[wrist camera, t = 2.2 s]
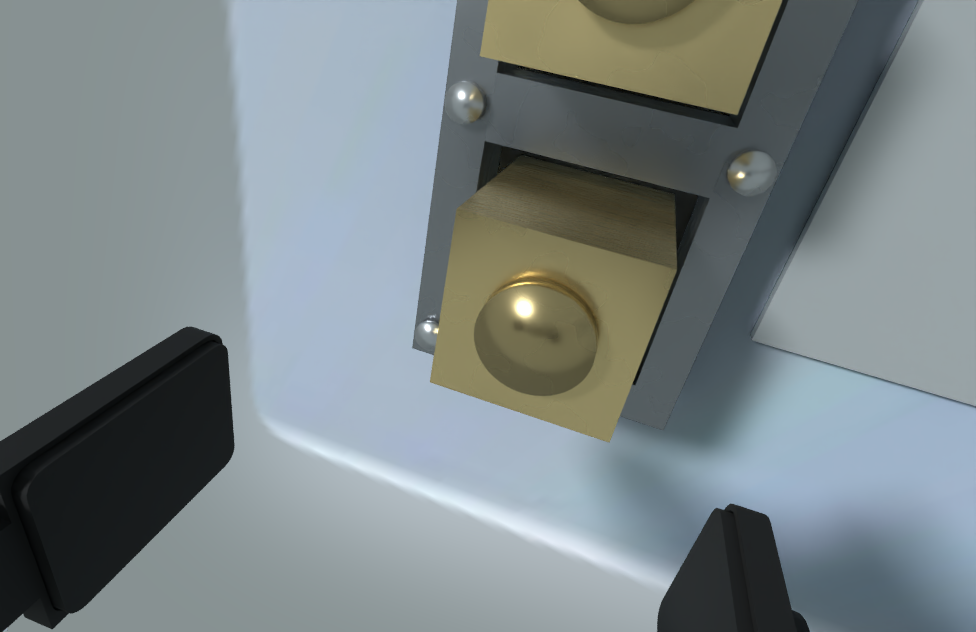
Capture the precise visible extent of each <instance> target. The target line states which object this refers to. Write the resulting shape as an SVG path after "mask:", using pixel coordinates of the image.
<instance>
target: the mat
mask: <svg viewBox="0 0 976 632" xmlns="http://www.w3.org/2000/svg"><path fill="white" fill-rule="evenodd" d="M750 336H751V340H752V341H755V342H759V343H762V344H766V345H769V346H772V347H776V348H779V349H783V350H786V351H789V352H793V353H796V354H800V355H803V356H806V357H810V358H813V359H817V360H820V361H824V362H827V363H830V364H834V365H837V366H841V367H844V368H847V369H851V370H854V371H858V372H861V373H864V374H868V375H871V376H875V377H878V378H881V379H885V380H888V381H892V382H895V383H899V384H902V385H905V386H909V387H912V388H916V389H919V390H922V391H926V392H929V393H933V394H936V395H939V396H943V397H946V398H950V399H953V400H957V401H960V402H963V403H967V404H970V405H974V406H976V0H918V2H917V4H916V6H915V8H914V10H913V12H912V14H911V16H910V18H909V20H908V22H907V24H906V26H905V28H904V30H903V32H902V34H901V36H900V38H899V40H898V42H897V44H896V46H895V48H894V50H893V52H892V54H891V56H890V58H889V60H888V62H887V64H886V66H885V68H884V70H883V72H882V74H881V76H880V78H879V80H878V82H877V84H876V86H875V88H874V90H873V92H872V94H871V96H870V98H869V100H868V102H867V104H866V106H865V108H864V110H863V112H862V114H861V116H860V118H859V120H858V122H857V124H856V126H855V128H854V130H853V132H852V134H851V136H850V138H849V140H848V142H847V144H846V146H845V148H844V150H843V152H842V154H841V156H840V158H839V159H838V161H837V163H836V165H835V167H834V169H833V171H832V173H831V175H830V177H829V179H828V181H827V183H826V185H825V187H824V189H823V191H822V193H821V195H820V197H819V199H818V201H817V203H816V205H815V207H814V209H813V211H812V213H811V215H810V217H809V219H808V221H807V223H806V225H805V227H804V229H803V231H802V233H801V235H800V237H799V239H798V241H797V243H796V245H795V247H794V249H793V251H792V253H791V255H790V257H789V259H788V261H787V263H786V265H785V267H784V269H783V271H782V273H781V275H780V277H779V279H778V281H777V283H776V285H775V287H774V289H773V291H772V293H771V295H770V297H769V299H768V301H767V303H766V305H765V307H764V309H763V311H762V313H761V315H760V317H759V319H758V321H757V323H756V325H755V327H754V329H753V330H752V332H751V334H750Z"/></svg>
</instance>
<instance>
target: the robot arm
mask: <svg viewBox="0 0 976 632" xmlns="http://www.w3.org/2000/svg"><path fill="white" fill-rule="evenodd" d="M233 452H234V433H233V420H232V405H231V391H230V377H229V363H228V351H227V348H226V347H225V346H224V345H223V344H222V340H221V338H220V337H219V336H218V335H215V334H212V333H209V332H206V331H203V330H199V329H197V328H194V327H186V328H183V329H181V330H179V331H178V332H177V333H175V334H173V335H171V336H170V337H168V338H167V339H165V340H163V341H162V342H160V343H158V344H157V345H155V346H154V347H152V348H150V349H149V350H147V351H146V352H144V353H142V354H141V355H139V356H137V357H136V358H134V359H133V360H131V361H130V362H128V363H126V364H125V365H123V366H122V367H120V368H118V369H116V370H115V371H113V372H112V373H110V374H108V375H107V376H105V377H104V378H102V379H100V380H99V381H97V382H95V383H94V384H92V385H91V386H89V387H87V388H86V389H84V390H83V391H81V392H79V393H78V394H76V395H75V396H73V397H71V398H70V399H68V400H66V401H65V402H63V403H62V404H60V405H58V406H57V407H55V408H53V409H52V410H50V411H49V412H47V413H45V414H44V415H42V416H41V417H39V418H37V419H36V420H34V421H32V422H31V423H29V424H28V425H26V426H24V427H23V428H21V429H20V430H18V431H17V432H15V433H13V434H12V435H10V436H8V437H7V438H5V439H3V440H2V441H0V632H7V629H8V627H9V625H11V624H12V623H13V622H14V621H15V620H16V619H17V618H18V617H19V616H21V615H22V614H24V616H25V617H26V618H28V619H30V620H32V621H35V622H37V623H39V624H41V625H44V626H46V627H48V628H51V629H53V628H54V627H55V626H56V625H57V624H58V623H59V622H60V621H61V620H62V619H63V618H65V617H66V615H67V614H69V613H75V612H77V611H79V610H81V609H82V608H83V607H84V606H86V605H87V604H88V603H89V602H90V601H91V600H92V599H93V598H94V597H95V596H96V595H97V594H98V593H99V592H100V591H101V590H102V589H103V588H104V587H105V586H106V585H107V584H108V583H109V582H110V581H111V580H112V579H113V578H114V577H115V576H116V575H117V574H118V573H119V572H120V571H121V570H122V568H124V567H125V566H126V565H127V564H128V563H129V562H130V561H131V560H132V559H133V558H134V557H135V556H136V555H137V554H138V553H139V552H140V551H141V550H142V549H143V548H144V547H145V546H146V545H147V544H148V543H149V542H150V541H151V540H152V539H153V538H154V537H155V536H156V535H157V534H158V533H159V532H160V531H161V530H162V529H163V528H164V527H165V526H166V525H167V524H168V522H170V521H171V520H172V519H173V518H174V517H175V516H176V515H177V514H178V513H179V512H180V511H181V510H182V509H183V508H184V507H185V506H186V505H187V503H189V502H190V501H191V500H192V499H193V498H194V497H195V496H196V495H197V494H198V492H200V491H201V490H202V489H203V488H204V487H205V486H206V485H207V484H208V482H210V481H211V480H212V479H213V478H214V477H215V476H216V475H217V474H218V473H219V472H220V471H221V470H222V469H223V468H224V467H225V466H226V464H227V463H228V462H229V460H230V459H231V457H232V455H233ZM657 624H658V625H657V630H658V631H657V632H810V631H809V628H808V625H807V623H806V621H805V619H804V618H803V617H802V615H801V614H800V613H797V612H795V611H793V610H791V605H790V601H789V597H788V593H787V589H786V585H785V580H784V576H783V572H782V568H781V564H780V560H779V556H778V551H777V547H776V543H775V539H774V535H773V531H772V526H771V523H770V520H769V518H768V517H767V516H766V515H765V514H762V513H759V512H756V511H753V510H750V509H747V508H744V507H741V506H737V505H734V504H729V505H728V506H727V507H726V508H725V510H722V509H719V508H716V509H714V510H713V512H712V513H711V515H710V517H709V519H708V520H707V522H706V524H705V526H704V527H703V529H702V531H701V533H700V535H699V536H698V538H697V540H696V542H695V543H694V545H693V547H692V549H691V550H690V552H689V554H688V556H687V558H686V559H685V561H684V563H683V565H682V566H681V568H680V570H679V572H678V573H677V575H676V577H675V579H674V580H673V582H672V584H671V586H670V588H669V589H668V591H667V593H666V595H665V596H664V598H663V600H662V602H661V605H660V609H659V613H658V622H657Z"/></svg>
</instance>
